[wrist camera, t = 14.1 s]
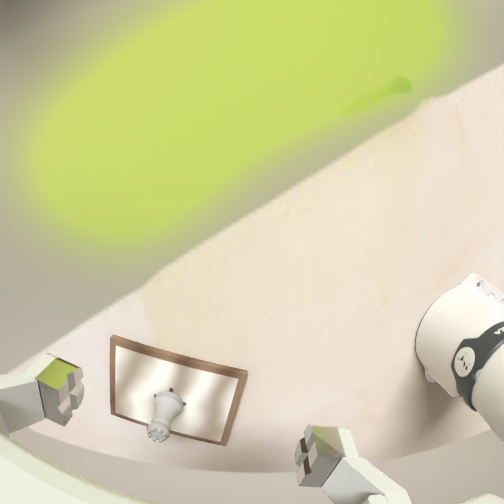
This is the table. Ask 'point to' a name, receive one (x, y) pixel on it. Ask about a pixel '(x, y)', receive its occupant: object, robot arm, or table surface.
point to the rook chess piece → (164, 415)
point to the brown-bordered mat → (174, 389)
